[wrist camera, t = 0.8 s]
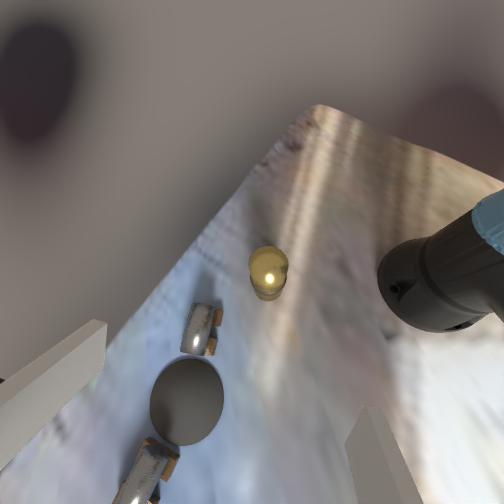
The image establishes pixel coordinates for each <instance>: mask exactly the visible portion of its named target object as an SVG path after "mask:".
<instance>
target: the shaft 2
mask: <svg viewBox="0 0 504 504" xmlns="http://www.w3.org/2000/svg"><path fill="white" fill-rule="evenodd" d="M222 317H223V311H221V310H215V307H213V306H209V305H205V304H200V303H193V304H192V306H191V309H190V313H189V317H188V323H187V326H186V330H185V333H184V336H183V339H182V343H181V347H180V352H183V353H187V354H193V355H200V356H204V355H205V354H207V355H212V356H213V355H214V354H215V349H216V345H217V340H218V339H213V338H209V333H210V329H211V325H214V326H221V321H222Z"/></svg>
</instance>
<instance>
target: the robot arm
mask: <svg viewBox="0 0 504 504" xmlns="http://www.w3.org/2000/svg"><path fill="white" fill-rule="evenodd" d="M378 284H379V288H380V292H381V294H382V296H383V298H384V300H385V302H386V303H387V305H388V306H389V308H390V309H391V310H392V311H393V312H394V313H395V314H396V315H397V316H398V317H399V318H400V319H402V320H403V321H404V322H406V323H407V324H409V325H411V326H413V327H415V328H418V329H420V330H424V331H428V332H434V333H443V332H454V331H459V330H462V329H465V328H468V327H470V326H471V325H473V324H474V323H476V322H477V321H479V320H480V319H482V318H483V317H485V316H486V315H488V314H489V313H494V312H495V313H496V315H497V316H498V317H499V318H500V319H501V320H502V321H503V322H504V189H502V190H500V191H499V192H496V193H494V194H491V195H489V196H487V197H485V198H484V199H482V200H481V201H480V202H478V203H477V205H476V206H475V207H474V208H473V209H472V210H470V211H469V212H467V213H466V214H464V215H463V216H461V217H460V218H458V219H457V220H455V221H454V222H452V223H451V224H449V225H447V226H446V227H444V228H443V229H441V230H440V231H438V232H437V233H435V234H434V235H432V236H429V237H425V238H420V239H413V240H409V241H406V242H404V243H402V244H400V245H398V246H396V247H395V248H394V249H393V250H391V251H390V252H389V253H388V254H387V255H386V256H385V257H384V258H383V260H382V262H381V264H380V267H379V271H378ZM106 334H107V323H104V322H101V321H98V320H95V319H92V320H91V321H89V322H88V323H87V324H85V325H84V326H82V327H81V328H79V329H78V330H77V331H75V332H74V333H72V334H71V335H70V336H68V337H67V338H65V339H64V340H63V341H61V342H59V343H58V344H57V345H55V346H54V347H53V348H51V349H49V350H48V351H47V352H45V353H44V354H42V355H41V356H40V357H38V358H37V359H35V360H34V361H32V362H31V363H30V364H28V365H27V366H25V367H24V368H22V369H21V370H20V371H18V372H17V373H15V374H14V375H12V376H11V377H10V378H8V379H7V380H3V379H1V378H0V470H1V469H2V468H3V467H4V466H5V465H6V464H7V463H8V462H9V461H10V460H11V459H12V458H13V457H14V456H15V455H16V454H17V453H18V452H19V451H20V450H21V449H22V448H23V447H24V446H25V445H26V444H27V443H28V442H29V441H30V440H31V439H32V438H33V437H34V436H35V435H36V434H37V433H38V432H39V431H40V430H41V429H42V428H43V427H44V426H45V425H46V424H47V423H48V422H49V421H50V420H51V419H52V418H53V417H54V416H55V415H56V414H57V413H58V412H59V411H60V410H61V409H62V408H63V407H64V406H65V405H66V404H67V403H68V402H69V401H70V400H71V399H72V398H73V397H74V396H75V395H76V394H77V393H78V392H79V391H80V390H81V389H82V388H83V387H84V386H85V385H86V384H87V383H88V382H89V381H90V380H91V379H92V378H93V377H94V376H95V375H96V374H97V373H98V372H99V371H100V370H101V369H102V368H103V367H104V360H105V347H106V346H105V345H106ZM345 448H346V452H347V456H348V460H349V465H350V469H351V473H352V477H353V482H354V486H355V490H356V494H357V499H358V503H359V504H423V501H422V499H421V497H420V494H419V492H418V490H417V488H416V485H415V483H414V481H413V479H412V476H411V474H410V472H409V469H408V467H407V465H406V463H405V460H404V458H403V456H402V453H401V451H400V449H399V447H398V444H397V442H396V440H395V438H394V435H393V433H392V431H391V428H390V426H389V424H388V422H387V419H386V417H385V415H384V413H383V410H382V409H380V408H377V407H374V406H371V405H368V404H366V405H365V406H364V408H363V410H362V412H361V414H360V416H359V418H358V420H357V421H356V423H355V425H354V427H353V429H352V431H351V433H350V435H349V436H348V438H347V440H346V442H345Z"/></svg>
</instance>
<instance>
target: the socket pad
mask: <svg viewBox="0 0 504 504" xmlns="http://www.w3.org/2000/svg"><path fill="white" fill-rule="evenodd" d="M223 402H224V394H223V387H222V384H221V381H220V378H219V376H218V375H217V373H216V372H215V371H214V369H213V368H212V367H211V366H209V365H208V364H207V363H205V362H203V361H200V360H196V359H185V360H181V361H178V362H176V363H174V364H172V365H170V366H169V367H168V368H167V369H166V370H164V371H163V373H162V374H161V375H160V376H159V378H158V379H157V381H156V383H155V385H154V387H153V390H152V393H151V398H150V415H151V419H152V423H153V425H154V427H155V429H156V431H157V432H158V434H159V435H160V436H161V437H162V438H163V439H164V440H166V441H168V442H169V443H171V444H174V445H178V446H187V445H192V444H195V443H197V442H199V441H201V440H203V439H204V438H205V437H206V436H208V435H209V433H210V432H211V431H212V430H213V429H214V427H215V426H216V424H217V422H218V420H219V418H220V416H221V413H222V409H223Z"/></svg>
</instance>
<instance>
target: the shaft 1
mask: <svg viewBox="0 0 504 504" xmlns="http://www.w3.org/2000/svg"><path fill="white" fill-rule="evenodd" d="M179 457H180V456H179V455H177V454H176V453H174V452H173V451H171V450H170V449H168V448H167V447H165V446H163V445H162V444H160V443H159V442H157V441H156V440H154V439H153V438H151V437H150V436H149V437H148V438H147V439H145V440H144V442H143V444H142V446H141V448H140V450H139V452H138V454H137V456H136V458H135V461H136V462H135V464H134V466H133V468H132V470H131V472H130V474H129V475H128V477H127V479H126V480H125V481H124V482H123V483H122V485H121V487H120V489H119V491H118V493H117V495H116V497H115V499H114V500H113V502H112V504H158V503H159V501H160V498H158V497H157V496H156V495H154V494H153V490H154V488H155V486H156V484H157V482H158V480H159V478H161V479H163V480H164V481H165V482H167V481H168V479H169V478H170V477H171V475H172V473H173V471H174V468H175V466H176V464H177V462H178V460H179Z"/></svg>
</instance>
